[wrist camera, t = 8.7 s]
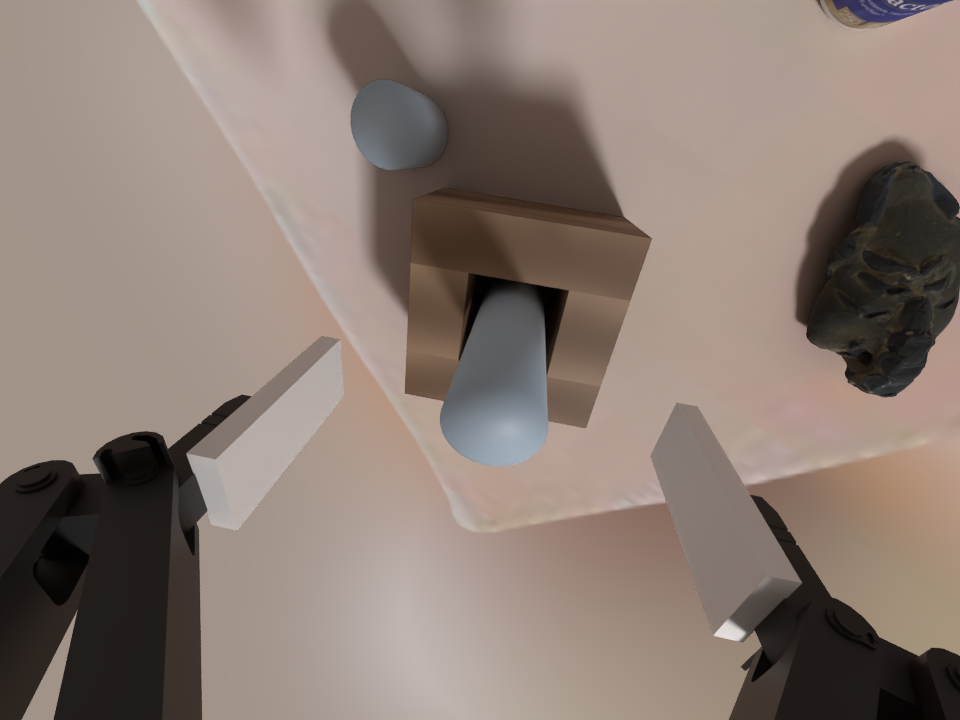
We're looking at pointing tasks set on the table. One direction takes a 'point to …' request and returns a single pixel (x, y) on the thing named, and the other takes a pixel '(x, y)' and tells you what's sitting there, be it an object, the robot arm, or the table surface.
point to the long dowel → (501, 379)
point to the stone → (891, 280)
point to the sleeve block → (524, 258)
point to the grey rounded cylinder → (397, 126)
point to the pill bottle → (873, 11)
